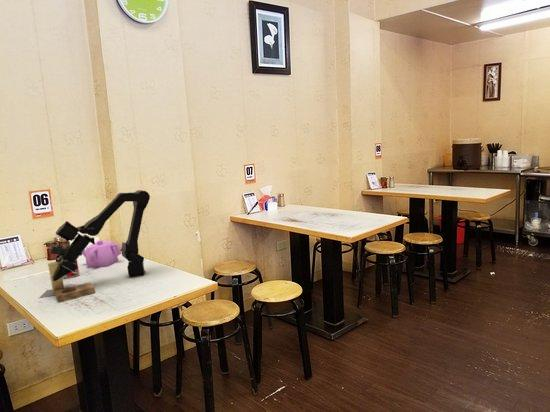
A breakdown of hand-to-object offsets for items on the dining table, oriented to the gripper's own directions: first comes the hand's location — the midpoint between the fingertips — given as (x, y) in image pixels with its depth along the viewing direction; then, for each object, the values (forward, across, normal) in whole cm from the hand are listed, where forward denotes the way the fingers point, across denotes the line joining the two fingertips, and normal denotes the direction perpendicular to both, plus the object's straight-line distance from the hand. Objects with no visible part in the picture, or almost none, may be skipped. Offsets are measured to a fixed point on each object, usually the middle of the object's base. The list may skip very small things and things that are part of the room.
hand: (52, 278), depth 173 cm
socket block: (0, +8, +10) cm, 13 cm away
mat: (+5, -3, +5) cm, 8 cm away
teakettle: (-13, -36, +24) cm, 45 cm away
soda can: (-2, -24, +12) cm, 27 cm away
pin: (+4, 0, +6) cm, 7 cm away
